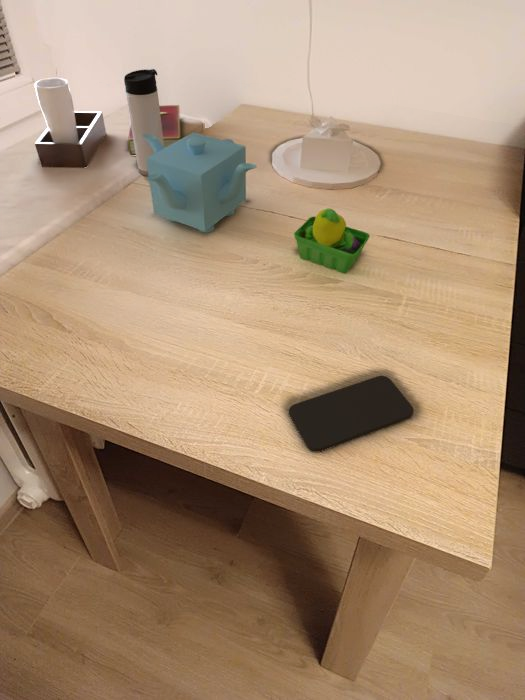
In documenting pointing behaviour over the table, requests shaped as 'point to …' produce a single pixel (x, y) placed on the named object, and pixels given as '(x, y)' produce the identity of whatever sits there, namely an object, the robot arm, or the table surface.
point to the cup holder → (73, 153)
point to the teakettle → (197, 179)
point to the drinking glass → (57, 109)
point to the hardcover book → (164, 127)
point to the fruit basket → (330, 241)
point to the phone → (349, 412)
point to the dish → (326, 158)
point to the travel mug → (143, 113)
